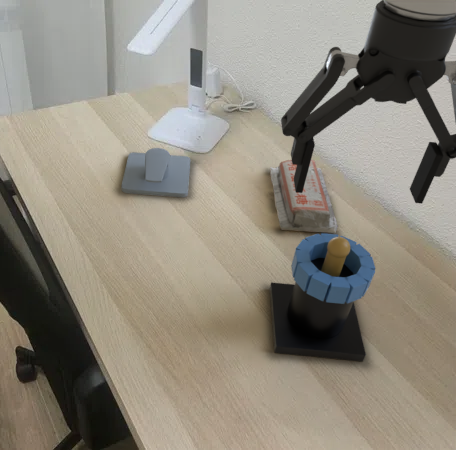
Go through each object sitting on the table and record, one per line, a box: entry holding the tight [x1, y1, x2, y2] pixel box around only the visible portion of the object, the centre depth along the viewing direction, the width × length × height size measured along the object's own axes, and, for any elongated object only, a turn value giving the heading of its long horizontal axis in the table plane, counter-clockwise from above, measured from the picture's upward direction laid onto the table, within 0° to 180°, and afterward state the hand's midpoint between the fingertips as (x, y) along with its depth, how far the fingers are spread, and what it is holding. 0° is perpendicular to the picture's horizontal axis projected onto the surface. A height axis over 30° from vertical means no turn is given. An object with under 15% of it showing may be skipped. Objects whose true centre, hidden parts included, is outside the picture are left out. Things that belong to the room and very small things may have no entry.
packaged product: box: [269, 159, 339, 234], centre depth 100 cm, size 18×5×10 cm
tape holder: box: [269, 236, 367, 362], centre depth 75 cm, size 12×12×16 cm
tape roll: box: [290, 232, 377, 304], centre depth 73 cm, size 10×10×3 cm
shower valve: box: [121, 147, 191, 198], centre depth 104 cm, size 12×6×15 cm
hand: (356, 191), depth 64 cm, fingers open, 13 cm apart
